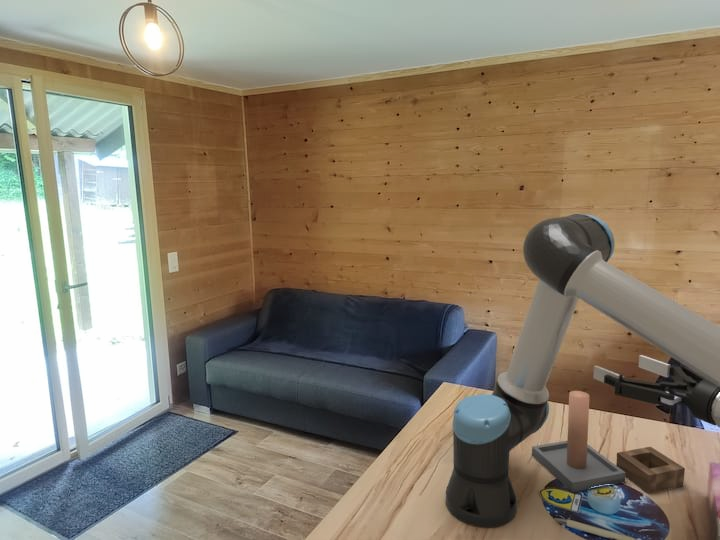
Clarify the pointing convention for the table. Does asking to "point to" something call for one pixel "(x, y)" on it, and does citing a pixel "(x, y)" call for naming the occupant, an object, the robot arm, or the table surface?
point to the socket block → (650, 469)
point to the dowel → (577, 429)
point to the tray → (577, 479)
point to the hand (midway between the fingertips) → (617, 366)
